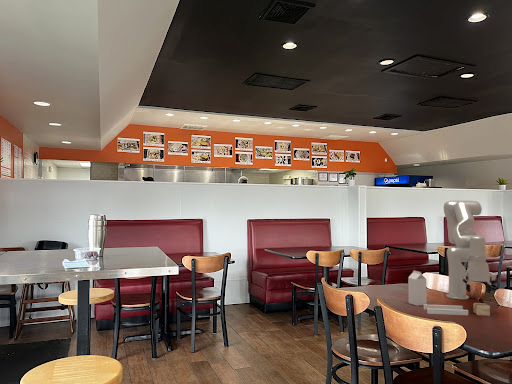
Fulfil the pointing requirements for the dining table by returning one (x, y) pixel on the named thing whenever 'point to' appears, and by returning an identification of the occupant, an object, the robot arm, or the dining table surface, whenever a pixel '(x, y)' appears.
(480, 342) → the dining table surface
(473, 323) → the dining table surface
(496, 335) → the dining table surface
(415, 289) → the milk carton
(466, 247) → the robot arm
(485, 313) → the maple block
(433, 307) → the channel
